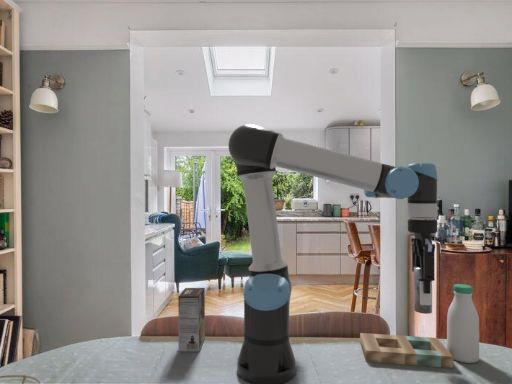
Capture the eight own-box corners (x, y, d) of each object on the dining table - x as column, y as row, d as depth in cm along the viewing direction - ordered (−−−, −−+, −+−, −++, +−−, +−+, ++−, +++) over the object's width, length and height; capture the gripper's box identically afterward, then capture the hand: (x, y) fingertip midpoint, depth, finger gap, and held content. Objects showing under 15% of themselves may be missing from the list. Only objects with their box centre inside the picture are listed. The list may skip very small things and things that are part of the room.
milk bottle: (484, 365, 93) (484, 290, 93) (452, 362, 95) (452, 288, 95) (472, 352, 101) (472, 282, 101) (443, 350, 102) (443, 281, 102)
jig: (365, 361, 95) (365, 350, 95) (360, 342, 107) (360, 332, 107) (453, 368, 91) (453, 356, 91) (437, 348, 103) (437, 337, 103)
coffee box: (184, 338, 110) (184, 287, 110) (205, 338, 110) (205, 287, 110) (177, 351, 101) (178, 295, 101) (200, 352, 101) (200, 296, 101)
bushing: (416, 313, 96) (416, 269, 96) (412, 307, 101) (411, 266, 101) (434, 314, 96) (434, 270, 96) (429, 308, 100) (428, 266, 100)
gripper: (448, 221, 89) (449, 312, 89) (426, 216, 106) (426, 293, 106) (417, 220, 90) (417, 311, 90) (400, 216, 108) (400, 292, 108)
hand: (422, 301), depth 98 cm, fingers closed on bushing, 5 cm apart
